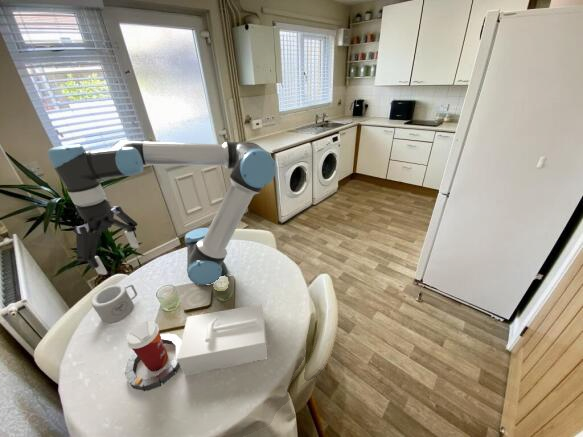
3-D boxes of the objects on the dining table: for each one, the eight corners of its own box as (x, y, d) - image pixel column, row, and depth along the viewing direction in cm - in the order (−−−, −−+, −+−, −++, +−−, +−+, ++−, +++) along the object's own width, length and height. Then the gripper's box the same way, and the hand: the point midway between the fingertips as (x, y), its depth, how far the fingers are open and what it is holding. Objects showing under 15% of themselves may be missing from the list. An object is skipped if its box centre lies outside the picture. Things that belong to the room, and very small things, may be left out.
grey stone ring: (185, 332, 84) (183, 326, 83) (183, 377, 71) (180, 372, 70) (134, 348, 80) (131, 342, 79) (122, 399, 67) (118, 394, 65)
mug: (110, 329, 87) (98, 310, 82) (97, 317, 92) (85, 298, 87) (146, 303, 97) (137, 285, 92) (132, 293, 102) (123, 275, 97)
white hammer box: (193, 333, 85) (185, 312, 79) (264, 320, 88) (261, 299, 82) (184, 375, 72) (174, 354, 67) (267, 359, 75) (264, 337, 70)
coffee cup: (176, 360, 76) (162, 330, 69) (149, 381, 71) (130, 351, 63) (165, 344, 81) (150, 314, 74) (139, 363, 76) (120, 333, 68)
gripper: (115, 184, 80) (138, 237, 91) (33, 222, 59) (75, 285, 69) (134, 185, 79) (155, 238, 89) (57, 223, 58) (97, 288, 68)
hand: (120, 259), depth 79 cm, fingers open, 13 cm apart
